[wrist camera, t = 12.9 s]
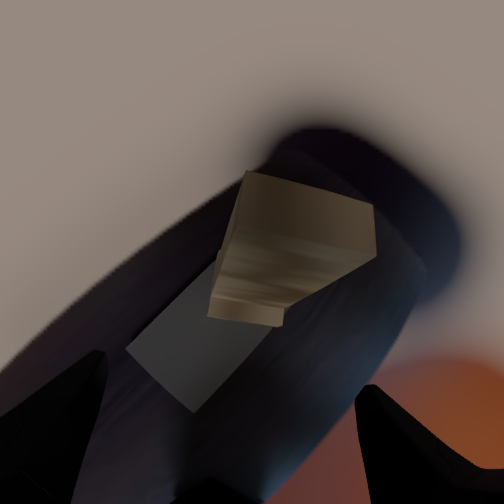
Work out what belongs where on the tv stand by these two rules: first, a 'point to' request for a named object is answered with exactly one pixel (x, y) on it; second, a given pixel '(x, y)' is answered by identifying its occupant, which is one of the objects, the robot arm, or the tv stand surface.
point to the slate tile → (194, 345)
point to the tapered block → (286, 247)
